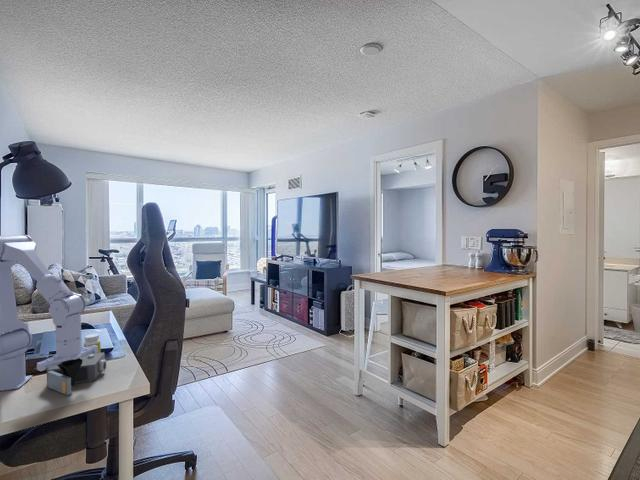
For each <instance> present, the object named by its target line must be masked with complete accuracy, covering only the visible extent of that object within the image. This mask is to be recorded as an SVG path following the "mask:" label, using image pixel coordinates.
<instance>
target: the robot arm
mask: <svg viewBox="0 0 640 480" xmlns="http://www.w3.org/2000/svg"><path fill="white" fill-rule="evenodd" d="M36 251H37V243H35V241H34V240H33V238H32V237H31V236H30V235H28V234H19V235H16V234H15V235H14V234H13V235H0V392H1V391H9V390H17V389H20V388H21V387H23V386H24V385H25V384H26V383H27V382H28V381H29V380H31V378H32V377H33V375H31V374H30V375H26V352H27V351H28V348H29V347H30V346H32V345H31V344H32V342H33V335H32V333H31V331H30V329H29V326H28V323H26V322H24V321H22V320H20V319H19V316H18V309H17V303H16V301H17V300H16V294H15V288H14V287H15V286H14V280H13V274H12V267H13V266H15V264H16V263H19V264H20V265H21V267H23V268H24V269H25V270H26V271H27V272H28V273H29V274H30V275H31V276H32V277H33V279H35V281H36V284H35V288H36V289H37V291H38V292H39V293H40V295H41V296H42V297H43V298H44V300H45V301H46V302H47V303H48V304H49V308H48V314H49V315H50V317H52V323H53V325H54V327H55V349H56V351H55V352H56V353H55V355H53V356H51V357H47V358H46V359H44V360H42V361H39V362H36V370H37V371H39V372H43V371H46V370H47V369H48V368H50V367H53V366H56V365H57V366H58V367H59V368H60V369H61V371H62V372H63V374H64V375H65V376H68V377H71V388H72V387H74V386H75V384H76V383H75V377H76V374H77V372H78V370H79V368H80V366H81V365H82V359H80V358H81V357H83V356H86V355H89V354H92V353H97V352H98V346H96V345H93V346H89V347H84V346H83V347H82V320H81V319H82V318H81V317H82V315H81V313H83V312H84V311H85V309H86V306H87V303H86V300H85V299H84V296H83V295H82V294H79V293H77V292H75V291H72V290H71V289H70V288H69V287H68V286H67V284H66V283H65V282H64V281H63V279H62V278H61V276H59V275H58V274H51V272H50V271H49V269H48V268H47V266H46V264H45V263H44V262H43V260H42V259H41V257H40V256H39V254H38V253H37V252H36Z"/></svg>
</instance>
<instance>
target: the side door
mask: <svg viewBox="0 0 640 480" xmlns="http://www.w3.org/2000/svg"><path fill="white" fill-rule="evenodd" d="M47 388H49V389H51V390H54V391H56V392H58V393H60V394H61V393H62V394H63V395H66V396H69V395H71V394H72V387H71V377H68V376H65V375H62V374H60V373H57V372H54V371H49V372H48V387H47Z"/></svg>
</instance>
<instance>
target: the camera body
mask: <svg viewBox="0 0 640 480" xmlns="http://www.w3.org/2000/svg"><path fill="white" fill-rule="evenodd" d="M105 357H106V354H105V352H104V351H103V352H101V353H94V354H89V355H86V356H83V357H81V358H80V359H82V365H81V366H80V368H79V370H78V372H77V374H76V377H75V384H80V383H87V382H95V381H97V379H98V378H99V376H100V375H101V374H102V372H105V371H106V369H107V360H106V359H105ZM49 371H54V372H57V373H60V374H62V375H64V374H63V372H62V371H61V369H60V368H59V367H58V366H57V365H56V366H53V367H50V368H47V369H46V387H47V388H49V387H48V372H49Z"/></svg>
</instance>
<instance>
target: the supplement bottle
mask: <svg viewBox="0 0 640 480" xmlns="http://www.w3.org/2000/svg"><path fill="white" fill-rule="evenodd" d="M93 345H96V346H98V352H97V353H102V352H101V340H100V334H99V333H92V334H87V335H85V336H84V342H83V348H84V347H89V346H93ZM92 354H94V353H92Z"/></svg>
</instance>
